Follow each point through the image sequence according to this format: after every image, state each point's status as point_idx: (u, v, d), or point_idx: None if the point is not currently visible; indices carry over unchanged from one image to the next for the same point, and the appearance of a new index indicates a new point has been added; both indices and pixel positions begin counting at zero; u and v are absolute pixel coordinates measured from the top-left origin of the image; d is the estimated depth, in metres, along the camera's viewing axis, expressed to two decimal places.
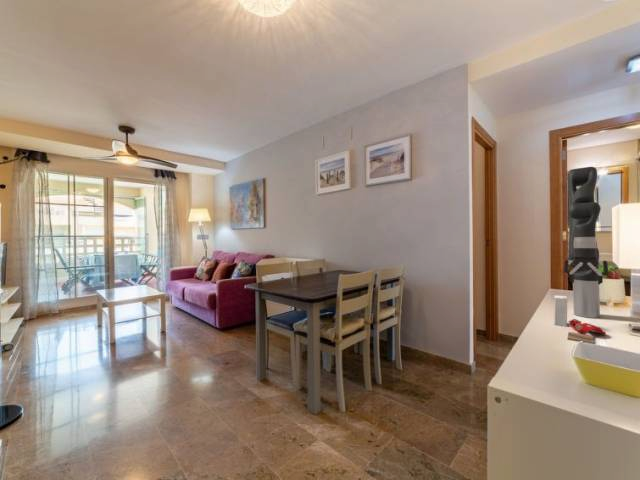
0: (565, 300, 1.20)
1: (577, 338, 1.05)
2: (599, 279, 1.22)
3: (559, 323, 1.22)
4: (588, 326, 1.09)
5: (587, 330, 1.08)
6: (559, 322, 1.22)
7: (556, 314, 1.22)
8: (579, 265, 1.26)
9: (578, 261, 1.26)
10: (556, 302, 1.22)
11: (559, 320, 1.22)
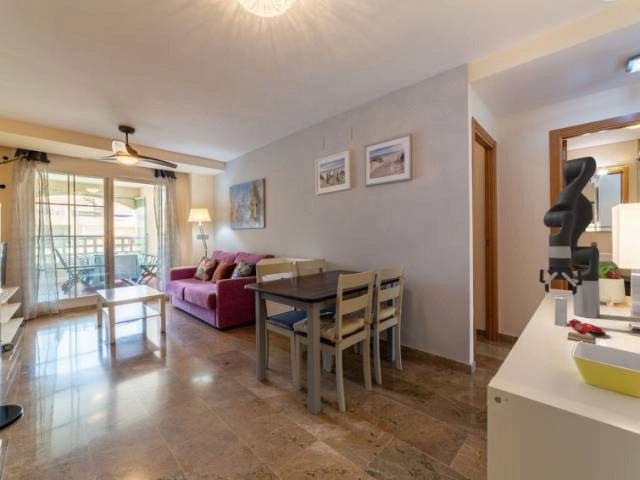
0: (565, 300, 1.20)
1: (577, 338, 1.05)
2: (573, 289, 1.19)
3: (559, 323, 1.22)
4: (588, 326, 1.09)
5: (587, 330, 1.08)
6: (559, 322, 1.22)
7: (556, 314, 1.22)
8: (554, 275, 1.23)
9: (553, 271, 1.24)
10: (556, 302, 1.22)
11: (559, 320, 1.22)
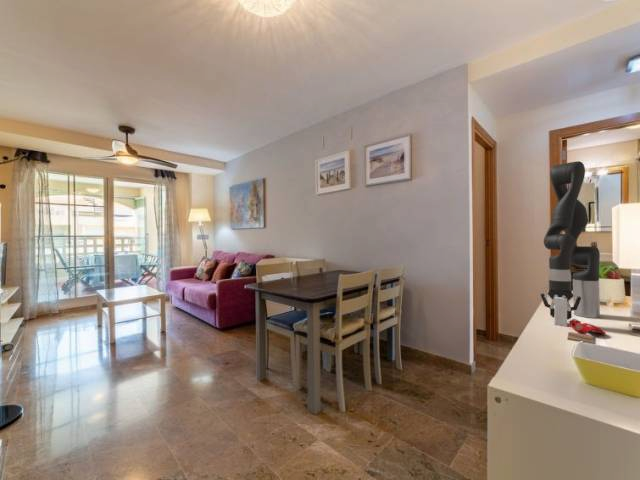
0: (565, 300, 1.20)
1: (577, 338, 1.05)
2: (568, 314, 1.21)
3: (559, 323, 1.22)
4: (588, 326, 1.09)
5: (587, 330, 1.08)
6: (559, 322, 1.22)
7: (556, 314, 1.22)
8: None
9: (553, 292, 1.24)
10: (556, 302, 1.22)
11: (559, 320, 1.22)
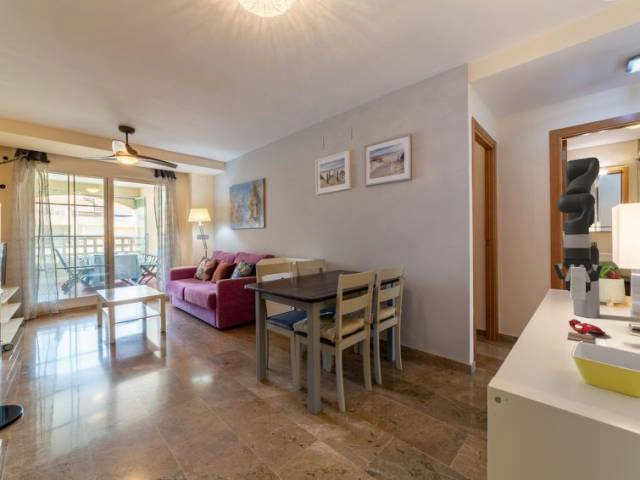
0: (583, 270, 1.03)
1: (577, 338, 1.05)
2: (587, 286, 1.04)
3: (576, 297, 1.05)
4: (588, 326, 1.09)
5: (587, 330, 1.08)
6: (576, 296, 1.05)
7: (573, 286, 1.05)
8: None
9: (568, 262, 1.08)
10: (573, 272, 1.05)
11: (576, 294, 1.05)
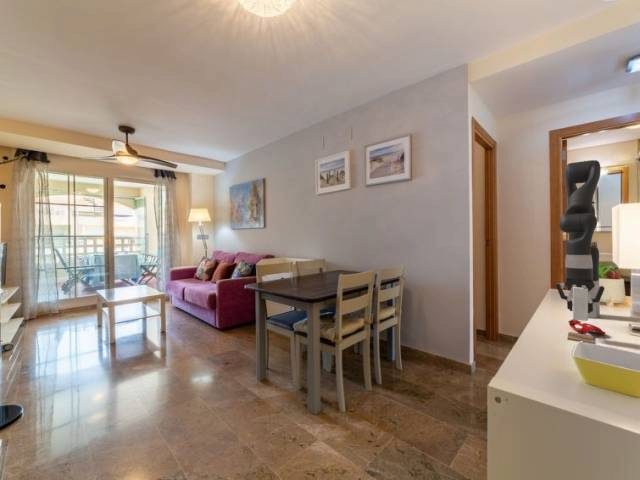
0: (586, 290, 1.03)
1: (577, 338, 1.05)
2: (589, 307, 1.04)
3: (578, 317, 1.04)
4: (588, 326, 1.09)
5: (587, 330, 1.08)
6: (578, 317, 1.04)
7: (575, 307, 1.05)
8: None
9: (570, 282, 1.07)
10: (575, 293, 1.05)
11: (578, 314, 1.04)
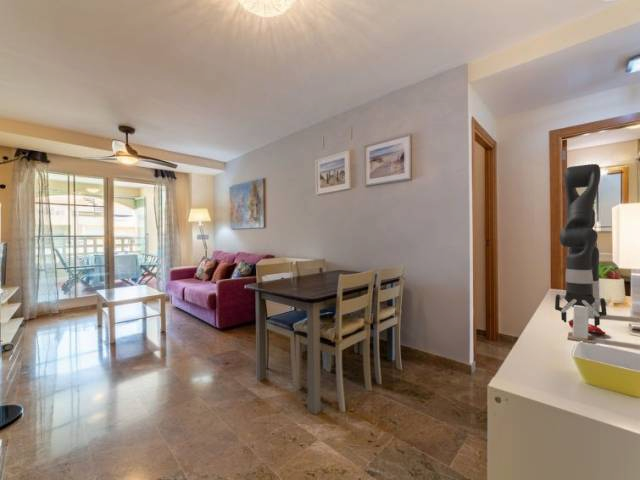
0: (586, 309, 1.03)
1: (577, 338, 1.05)
2: (596, 320, 1.02)
3: (578, 335, 1.05)
4: (588, 326, 1.09)
5: None
6: (578, 335, 1.05)
7: (575, 325, 1.05)
8: (572, 302, 1.06)
9: (571, 297, 1.07)
10: (575, 311, 1.05)
11: (578, 332, 1.05)
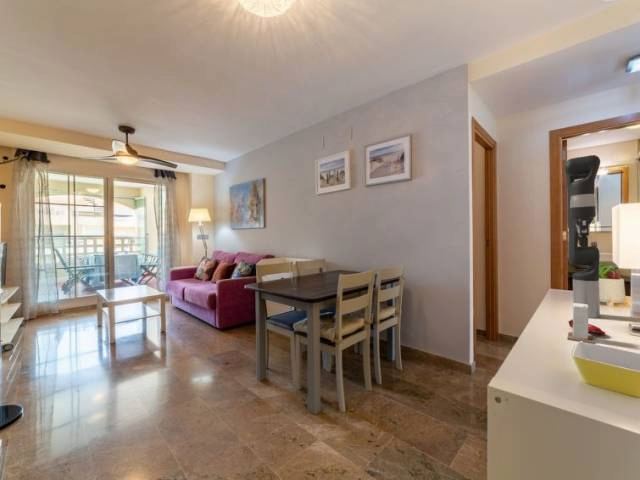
0: (586, 309, 1.03)
1: (577, 338, 1.05)
2: (580, 241, 1.11)
3: (578, 336, 1.05)
4: (588, 326, 1.09)
5: None
6: (578, 335, 1.05)
7: (575, 325, 1.05)
8: (576, 226, 1.17)
9: None
10: (575, 311, 1.05)
11: (578, 332, 1.05)
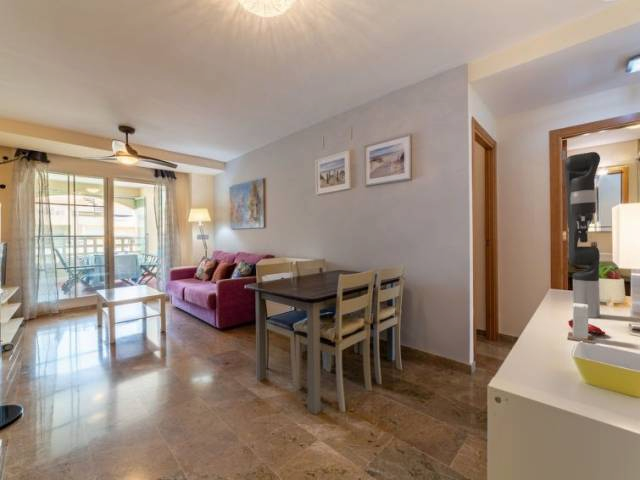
0: (586, 309, 1.03)
1: (577, 338, 1.05)
2: (580, 236, 1.12)
3: (578, 336, 1.05)
4: (588, 326, 1.09)
5: None
6: (578, 335, 1.05)
7: (575, 325, 1.05)
8: None
9: None
10: (575, 311, 1.05)
11: (578, 332, 1.05)
